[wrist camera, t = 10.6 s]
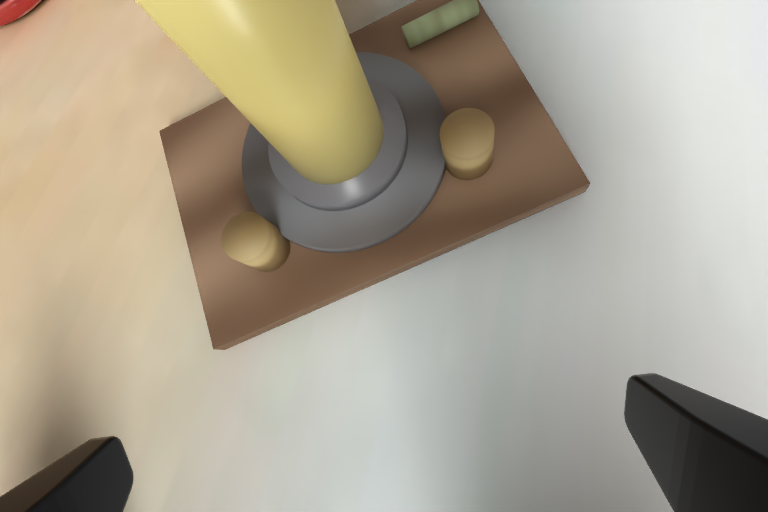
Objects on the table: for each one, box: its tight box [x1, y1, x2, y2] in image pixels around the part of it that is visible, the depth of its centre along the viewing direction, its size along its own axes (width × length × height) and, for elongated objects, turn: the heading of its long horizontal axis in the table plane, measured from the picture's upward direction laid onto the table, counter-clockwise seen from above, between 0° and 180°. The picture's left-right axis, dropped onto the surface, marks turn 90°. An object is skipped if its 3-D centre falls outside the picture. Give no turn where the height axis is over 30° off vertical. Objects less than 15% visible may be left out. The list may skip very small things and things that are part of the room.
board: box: [159, 0, 590, 350], centre depth 22 cm, size 15×20×4 cm
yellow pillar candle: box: [135, 0, 408, 211], centre depth 16 cm, size 7×7×12 cm
